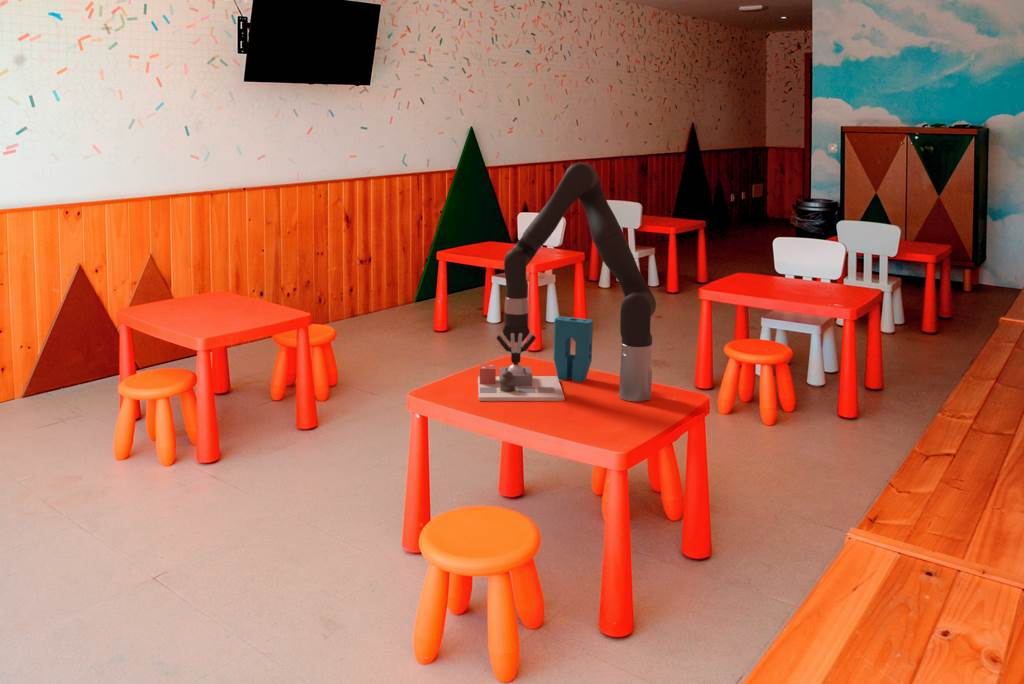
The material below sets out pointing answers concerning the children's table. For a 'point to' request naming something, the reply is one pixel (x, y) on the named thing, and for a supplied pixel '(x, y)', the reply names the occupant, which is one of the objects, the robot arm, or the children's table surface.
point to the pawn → (507, 382)
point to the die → (487, 374)
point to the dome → (516, 369)
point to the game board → (523, 390)
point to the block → (563, 359)
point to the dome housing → (519, 376)
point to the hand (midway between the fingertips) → (515, 363)
